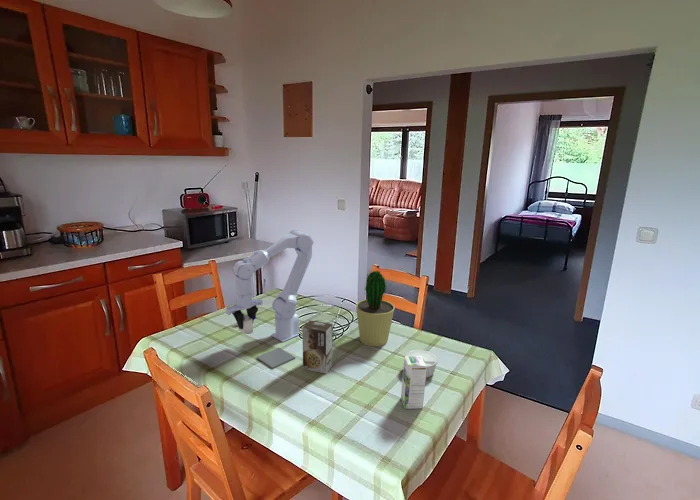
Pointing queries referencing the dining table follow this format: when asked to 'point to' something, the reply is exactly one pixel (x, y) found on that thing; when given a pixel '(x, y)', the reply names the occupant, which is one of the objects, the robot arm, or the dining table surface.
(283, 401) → the dining table surface
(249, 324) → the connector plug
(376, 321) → the potted cactus
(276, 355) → the slate coaster
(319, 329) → the brown food box
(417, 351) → the ramekin
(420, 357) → the syrup box
